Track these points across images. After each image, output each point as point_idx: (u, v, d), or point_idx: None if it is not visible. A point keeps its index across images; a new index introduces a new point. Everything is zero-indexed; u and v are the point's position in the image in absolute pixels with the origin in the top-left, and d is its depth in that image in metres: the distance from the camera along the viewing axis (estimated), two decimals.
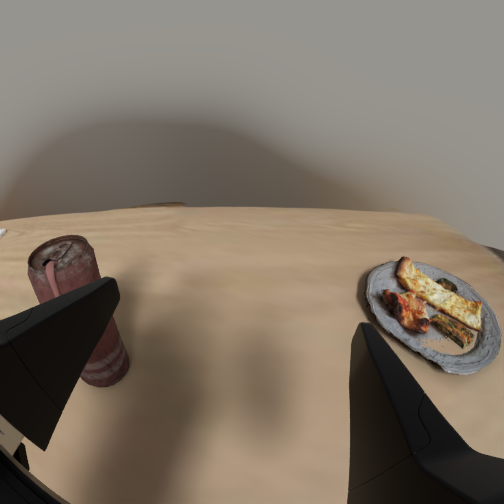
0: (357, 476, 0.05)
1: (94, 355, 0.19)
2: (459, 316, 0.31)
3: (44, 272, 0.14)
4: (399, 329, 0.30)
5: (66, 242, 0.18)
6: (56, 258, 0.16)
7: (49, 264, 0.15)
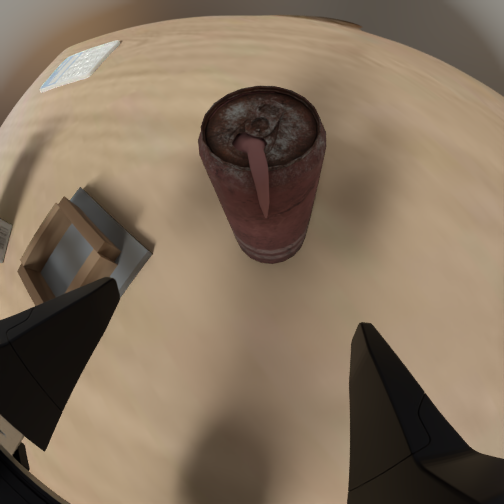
0: (357, 476, 0.05)
1: (279, 245, 0.19)
2: None
3: (246, 170, 0.11)
4: None
5: (273, 102, 0.12)
6: (260, 133, 0.11)
7: (256, 155, 0.10)
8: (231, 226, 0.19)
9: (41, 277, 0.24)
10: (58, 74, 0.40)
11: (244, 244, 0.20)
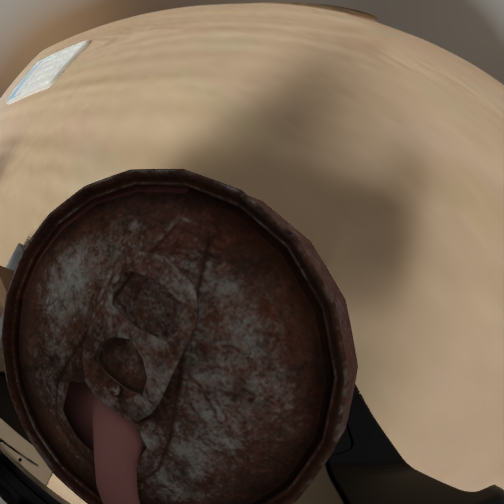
0: None
1: None
2: None
3: None
4: None
5: (161, 268, 0.03)
6: (125, 404, 0.03)
7: (112, 500, 0.02)
8: None
9: None
10: (25, 83, 0.32)
11: None
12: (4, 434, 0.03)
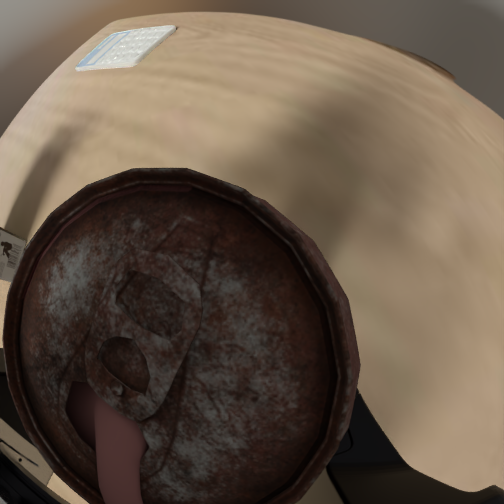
0: None
1: None
2: None
3: None
4: None
5: (164, 267, 0.03)
6: (127, 403, 0.03)
7: (115, 500, 0.02)
8: None
9: None
10: (99, 54, 0.37)
11: None
12: (4, 434, 0.03)
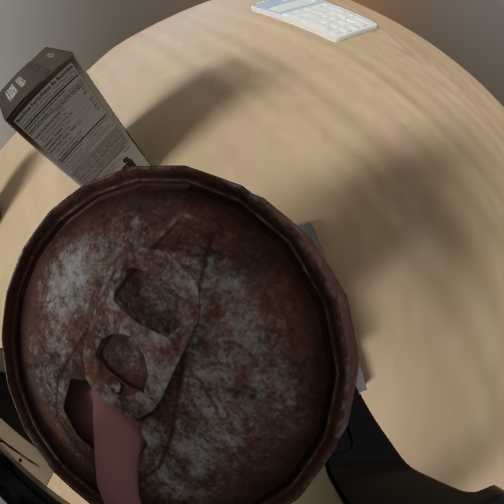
0: None
1: None
2: None
3: None
4: None
5: (162, 264, 0.03)
6: (125, 401, 0.03)
7: (113, 499, 0.02)
8: None
9: None
10: (285, 6, 0.33)
11: None
12: (4, 434, 0.03)
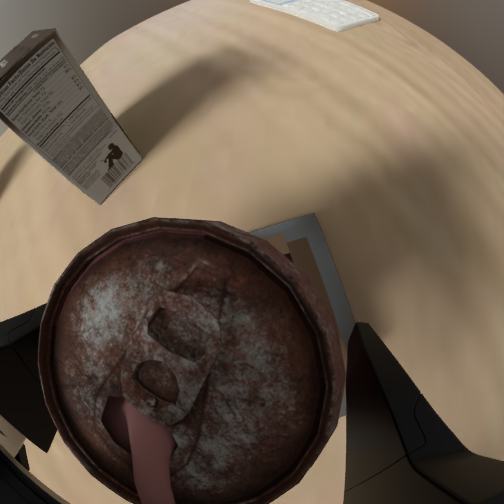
0: (353, 476, 0.05)
1: None
2: None
3: (140, 502, 0.03)
4: None
5: (189, 306, 0.04)
6: (159, 412, 0.04)
7: (149, 493, 0.03)
8: None
9: None
10: None
11: None
12: None
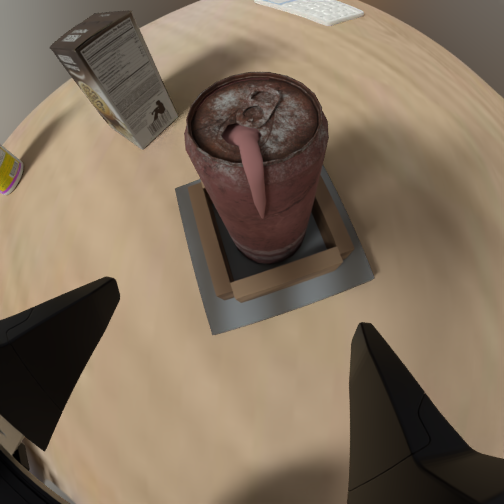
0: (357, 476, 0.05)
1: (277, 245, 0.17)
2: None
3: (238, 166, 0.09)
4: None
5: (267, 89, 0.10)
6: (253, 124, 0.10)
7: (249, 149, 0.09)
8: None
9: (213, 211, 0.24)
10: None
11: (240, 245, 0.19)
12: None
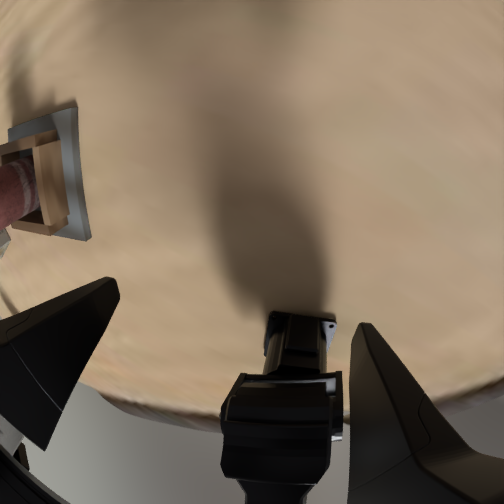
0: (357, 476, 0.05)
1: (17, 197, 0.18)
2: None
3: None
4: None
5: None
6: None
7: None
8: (13, 221, 0.19)
9: None
10: None
11: (25, 213, 0.20)
12: None
